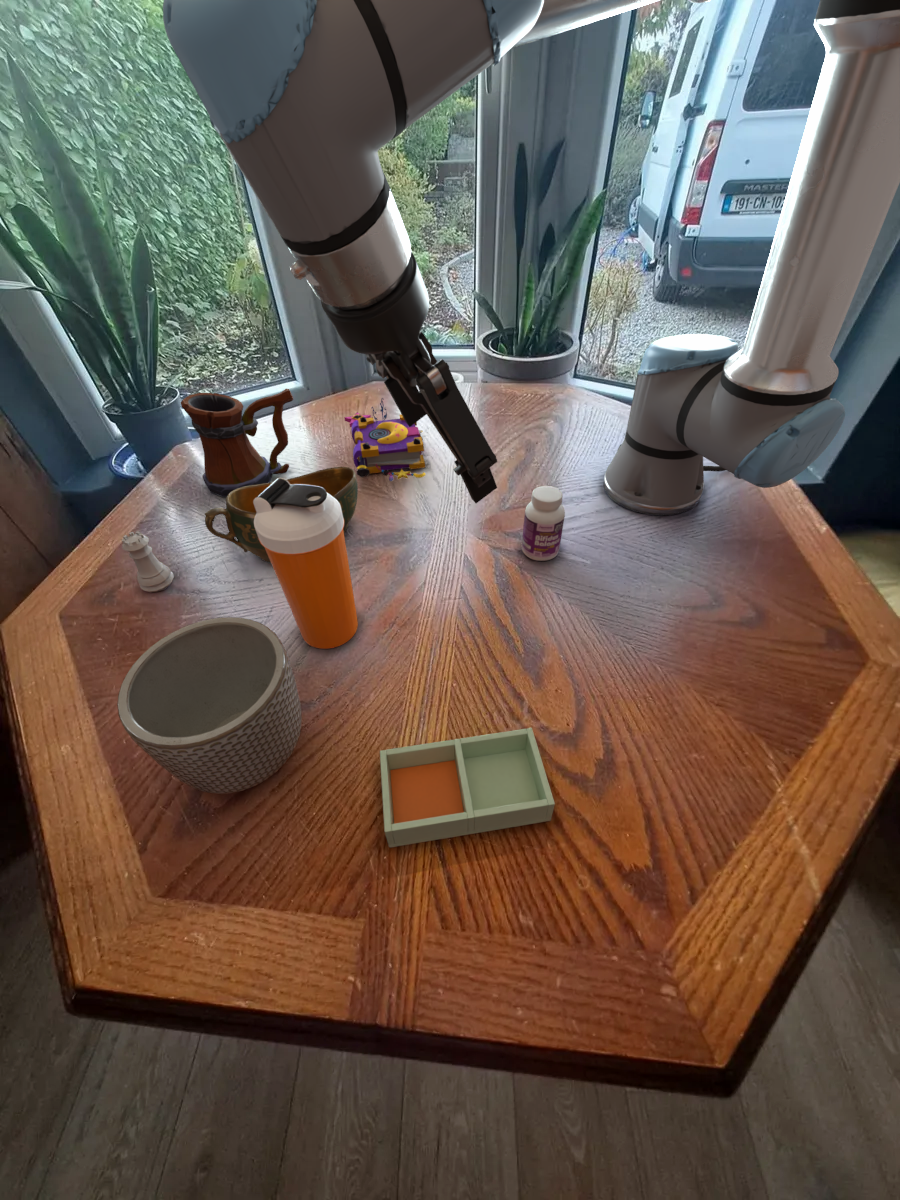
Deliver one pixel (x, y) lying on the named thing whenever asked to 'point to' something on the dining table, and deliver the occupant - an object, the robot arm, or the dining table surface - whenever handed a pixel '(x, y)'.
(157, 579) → the rook chess piece
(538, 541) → the pill bottle
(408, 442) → the book
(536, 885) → the dining table surface
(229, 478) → the mug
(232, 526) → the creamer
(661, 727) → the dining table surface
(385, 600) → the dining table surface
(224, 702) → the planter
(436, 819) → the tray
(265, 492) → the shaker bottle
